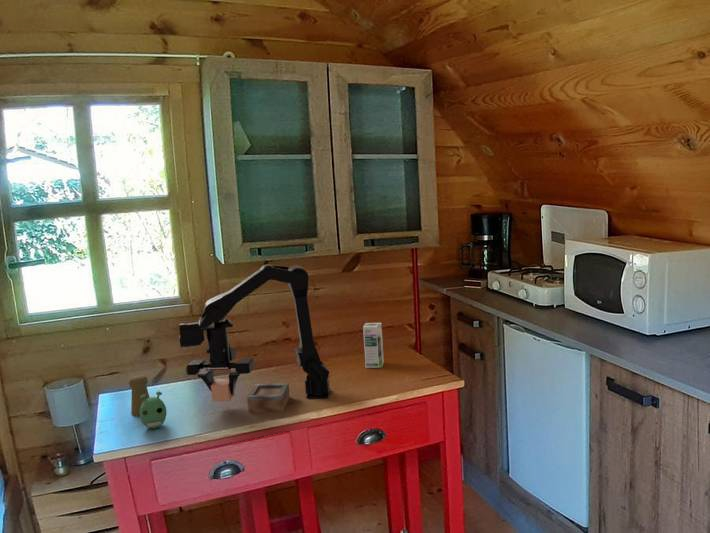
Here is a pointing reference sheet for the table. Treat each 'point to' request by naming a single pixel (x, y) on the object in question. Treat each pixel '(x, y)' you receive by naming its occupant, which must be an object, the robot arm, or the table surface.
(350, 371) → the table surface
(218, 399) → the top brick
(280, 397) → the grey square frame
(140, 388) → the cork
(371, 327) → the syrup box
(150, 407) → the alien toy
